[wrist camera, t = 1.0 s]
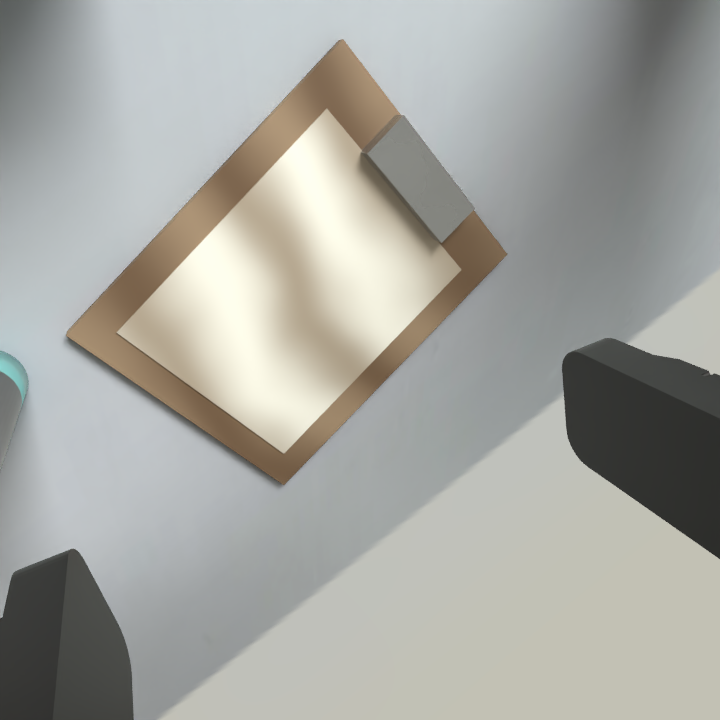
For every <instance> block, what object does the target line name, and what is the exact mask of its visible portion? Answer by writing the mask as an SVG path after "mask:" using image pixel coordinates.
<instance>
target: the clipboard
mask: <svg viewBox="0 0 720 720" xmlns="http://www.w3.org/2000/svg"><path fill="white" fill-rule="evenodd" d="M474 209H475V208H474V207H473V206H472V204H471V203H470V202H469V200H468V199H467V198H466V196H465V195H464V194H463V192H462V191H461V190H460V188H459V187H458V186H457V185H456V183H455V182H454V181H453V179H452V178H451V177H450V175H449V174H448V173H447V171H446V170H445V169H444V167H443V166H442V165H441V163H440V162H439V161H438V160H437V158H436V157H435V156H434V154H433V153H432V152H431V150H430V149H429V148H428V146H427V145H426V144H425V142H424V141H423V140H422V139H421V137H420V136H419V135H418V133H417V132H416V131H415V129H414V128H413V127H412V125H411V124H410V123H409V121H408V120H407V119H406V117H405V116H404V115H401V114H400V113H399V112H398V111H397V109H396V108H395V107H394V105H393V104H392V103H391V101H390V100H389V99H388V97H387V96H386V95H385V94H384V92H383V91H382V90H381V88H380V87H379V86H378V84H377V83H376V82H375V80H374V79H373V78H372V77H371V75H370V74H369V73H368V71H367V70H366V69H365V67H364V66H363V65H362V63H361V62H360V61H359V59H358V58H357V57H356V56H355V54H354V53H353V52H352V50H351V49H350V48H349V46H348V45H347V44H346V42H345V41H344V40H343V39H342V40H339V41H338V42H337V43H336V44H335V45H334V46H333V47H332V48H331V49H330V50H329V51H328V52H327V54H326V55H325V56H324V57H323V58H322V59H321V60H320V61H319V62H318V63H317V64H316V65H315V66H314V67H313V69H312V70H311V71H310V72H309V73H308V74H307V75H306V76H305V77H304V78H303V79H302V80H301V81H300V82H299V84H298V85H297V86H296V87H295V88H294V89H293V90H292V91H291V92H290V93H289V94H288V95H287V96H286V97H285V99H284V100H283V101H282V102H281V103H280V104H279V105H278V106H277V107H276V108H275V109H274V110H273V111H272V112H271V114H270V115H269V116H268V117H267V118H266V119H265V120H264V121H263V122H262V123H261V124H260V125H259V126H258V127H257V129H256V130H255V131H254V132H253V133H252V134H251V135H250V136H249V137H248V138H247V139H246V140H245V141H244V142H243V144H242V145H241V146H240V147H239V148H238V149H237V150H236V151H235V152H234V153H233V154H232V155H231V156H230V157H229V159H228V160H227V161H226V162H225V163H224V164H223V165H222V166H221V167H220V168H219V169H218V170H217V171H216V172H215V173H214V175H213V176H212V177H211V178H210V179H209V180H208V181H207V182H206V183H205V184H204V185H203V186H202V187H201V188H200V190H199V191H198V192H197V193H196V194H195V195H194V196H193V197H192V198H191V199H190V200H189V201H188V202H187V203H186V205H185V206H184V207H183V208H182V209H181V210H180V211H179V212H178V213H177V214H176V215H175V216H174V217H173V218H172V220H171V221H170V222H169V223H168V224H167V225H166V226H165V227H164V228H163V229H162V230H161V231H160V232H159V233H158V235H157V236H156V237H155V238H154V239H153V240H152V241H151V242H150V243H149V244H148V245H147V246H146V247H145V248H144V250H143V251H142V252H141V253H140V254H139V255H138V256H137V257H136V258H135V259H134V260H133V261H132V262H131V263H130V265H129V266H128V267H127V268H126V269H125V270H124V271H123V272H122V273H121V274H120V275H119V276H118V277H117V278H116V279H115V281H114V282H113V283H112V284H111V285H110V286H109V287H108V288H107V289H106V290H105V291H104V292H103V293H102V294H101V296H100V297H99V298H98V299H97V300H96V301H95V302H94V303H93V304H92V305H91V306H90V307H89V308H88V309H87V311H86V312H85V313H84V314H83V315H82V316H81V317H80V318H79V319H78V320H77V321H76V322H75V323H74V324H73V326H72V327H71V328H70V329H69V330H68V331H67V334H66V336H67V337H69V338H70V339H72V340H73V341H75V342H76V343H77V344H79V345H80V346H82V347H83V348H85V349H86V350H88V351H89V352H91V353H92V354H93V355H95V356H96V357H98V358H99V359H101V360H102V361H104V362H105V363H107V364H108V365H110V366H111V367H112V368H114V369H115V370H117V371H118V372H120V373H121V374H123V375H124V376H126V377H127V378H128V379H130V380H131V381H133V382H134V383H136V384H137V385H139V386H140V387H142V388H143V389H144V390H146V391H147V392H149V393H150V394H152V395H153V396H155V397H156V398H158V399H159V400H160V401H162V402H163V403H165V404H166V405H168V406H169V407H171V408H172V409H174V410H175V411H177V412H178V413H179V414H181V415H182V416H184V417H185V418H187V419H188V420H190V421H191V422H193V423H194V424H195V425H197V426H198V427H200V428H201V429H203V430H204V431H206V432H207V433H209V434H210V435H211V436H213V437H214V438H216V439H217V440H219V441H220V442H222V443H223V444H225V445H226V446H227V447H229V448H230V449H232V450H233V451H235V452H236V453H238V454H239V455H241V456H242V457H244V458H245V459H246V460H248V461H249V462H251V463H252V464H254V465H255V466H257V467H258V468H260V469H261V470H262V471H264V472H265V473H267V474H268V475H270V476H271V477H273V478H274V479H276V480H277V481H278V482H280V483H281V484H283V485H284V484H285V483H286V482H287V481H288V480H289V479H290V478H291V477H292V476H293V475H294V474H295V473H296V472H297V471H298V470H299V469H300V468H301V467H302V466H303V465H304V464H305V463H306V462H307V461H308V460H309V459H310V458H311V457H312V456H313V454H314V453H315V452H316V451H317V450H318V449H319V448H320V447H321V446H322V445H323V444H324V443H325V442H326V441H327V440H328V439H329V438H330V437H331V436H332V435H333V434H334V433H335V432H336V431H337V430H338V429H339V428H340V427H341V426H342V425H343V423H344V422H345V421H346V420H347V419H348V418H349V417H350V416H351V415H352V414H353V413H354V412H355V411H356V410H357V409H358V408H359V407H360V406H361V405H362V404H363V403H364V402H365V401H366V400H367V399H368V398H369V397H370V396H371V395H372V394H373V393H374V391H375V390H376V389H377V388H378V387H379V386H380V385H381V384H382V383H383V382H384V381H385V380H386V379H387V378H388V377H389V376H390V375H391V374H392V373H393V372H394V371H395V370H396V369H397V368H398V367H399V366H400V365H401V364H402V363H403V362H404V361H405V359H406V358H407V357H408V356H409V355H410V354H411V353H412V352H413V351H414V350H415V349H416V348H417V347H418V346H419V345H420V344H421V343H422V342H423V341H424V340H425V339H426V338H427V337H428V336H429V335H430V334H431V333H432V332H433V331H434V330H435V329H436V327H437V326H438V325H439V324H440V323H441V322H442V321H443V320H444V319H445V318H446V317H447V316H448V315H449V314H450V313H451V312H452V311H453V310H454V309H455V308H456V307H457V306H458V305H459V304H460V303H461V302H462V301H463V300H464V299H465V298H466V297H467V295H468V294H469V293H470V292H471V291H472V290H473V289H474V288H475V287H476V286H477V285H478V284H479V283H480V282H481V281H482V280H483V279H484V278H485V277H486V276H487V275H488V274H489V273H490V272H491V271H492V270H493V269H494V268H495V267H496V266H497V265H498V263H499V262H500V261H501V260H502V259H503V258H504V257H505V256H506V255H507V253H506V252H505V251H504V249H503V248H502V247H501V245H500V244H499V243H498V242H497V240H496V239H495V238H494V236H493V235H492V234H491V232H490V231H489V230H488V228H487V227H486V226H485V225H484V223H483V222H482V221H481V219H480V218H479V217H478V215H477V214H476V213H475V211H474Z"/></svg>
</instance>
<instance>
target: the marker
mask: <svg viewBox="0 0 720 720" xmlns="http://www.w3.org/2000/svg"><path fill="white" fill-rule="evenodd" d="M27 389H28V376H27V373H26V371H25V369H24V367H23V366H22V364H21V363H20V362H19V361H18V360H17V359H16V358H14V357H13V356H11V355H9V354H8V353H5V352H3V351H0V471H1V468H2V465H3V462H4V459H5V456H6V453H7V450H8V447H9V444H10V441H11V438H12V435H13V432H14V429H15V425H16V422H17V419H18V416H19V413H20V410H21V407H22V404H23V401H24V398H25V395H26V392H27Z"/></svg>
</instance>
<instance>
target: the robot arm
mask: <svg viewBox="0 0 720 720" xmlns="http://www.w3.org/2000/svg"><path fill="white" fill-rule="evenodd" d="M562 373H563V387H564V400H565V414H566V428H567V435H568V439H569V442H570V444H571V446H572V449H573V450H574V452H575V453H576V455H577V456H578V458H579V459H580V460H581V461H582V462H583V463H584V464H585V465H587V466H588V467H589V468H590V469H592V470H593V471H595V472H596V473H598V474H599V475H601V476H602V477H603V478H605V479H606V480H608V481H609V482H611V483H612V484H614V485H615V486H616V487H618V488H619V489H621V490H622V491H623V492H625V493H626V494H628V495H629V496H630V497H632V498H633V499H635V500H636V501H638V502H639V503H641V504H642V505H643V506H645V507H646V508H648V509H649V510H651V511H652V512H653V513H655V514H656V515H658V516H659V517H661V518H662V519H663V520H665V521H666V522H668V523H669V524H671V525H672V526H673V527H675V528H676V529H678V530H679V531H681V532H682V533H684V534H685V535H686V536H688V537H689V538H691V539H692V540H693V541H695V542H697V543H698V544H699V545H701V546H702V547H703V548H705V549H706V550H708V551H709V552H711V553H712V554H713V555H715V556H716V557H718V558H719V559H720V375H717V374H713V375H710V373H709V371H707V370H705V369H702V368H700V367H697V366H695V365H692V364H690V363H687V362H684V361H682V360H680V359H673V358H668V357H662V356H657V355H652V354H650V353H647V352H645V351H642V350H640V349H637V348H635V347H633V346H630V345H628V344H625V343H623V342H620V341H618V340H615V339H612V338H605V339H602V340H600V341H597V342H595V343H592V344H590V345H587V346H585V347H582V348H580V349H577V350H575V351H572V352H570V353H568V354H567V355H566V356H565V358H564V360H563V364H562ZM0 720H134V719H133V695H132V673H131V664H130V658H129V654H128V650H127V646H126V643H125V640H124V637H123V634H122V632H121V629H120V627H119V625H118V623H117V621H116V619H115V617H114V616H113V614H112V612H111V610H110V608H109V606H108V604H107V602H106V600H105V599H104V597H103V595H102V593H101V591H100V589H99V587H98V585H97V583H96V582H95V580H94V578H93V576H92V574H91V572H90V570H89V568H88V566H87V565H86V563H85V561H84V559H83V557H82V556H81V555H80V553H79V552H78V551H77V550H75V549H70V550H68V551H65V552H63V553H60V554H58V555H55V556H53V557H50V558H48V559H45V560H43V561H40V562H37V563H35V564H32V565H30V566H27V567H25V568H22V569H20V570H17V571H15V572H14V573H13V575H12V578H11V581H10V586H9V590H8V595H7V600H6V604H5V609H4V613H3V618H1V619H0Z"/></svg>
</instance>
